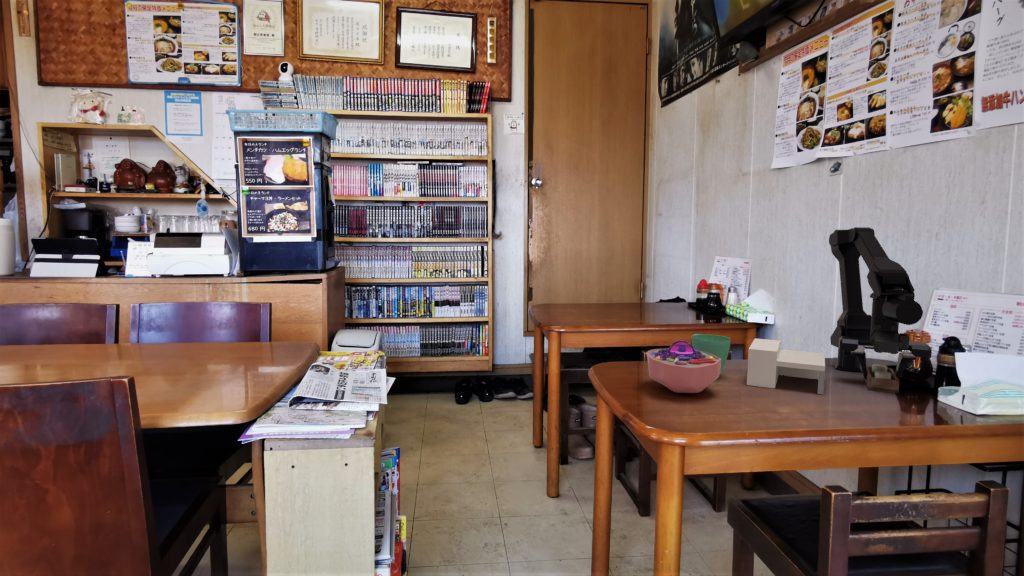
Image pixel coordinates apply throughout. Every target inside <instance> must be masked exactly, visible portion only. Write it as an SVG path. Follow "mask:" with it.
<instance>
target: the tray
mask: <svg viewBox="0 0 1024 576" xmlns="http://www.w3.org/2000/svg"><path fill="white" fill-rule="evenodd" d="M866 368H867V378H866V380H865V379H864V381H865V385H866V388H867V390H868V391H873V392H882V393H890V394H899V389H900V379H899V380H898V378H897V376H896V374H895V373H896V372H895V371H894V369H893V368H890V367H888V366H887V365H884V364H878V363H877V364H876V363H875V364H874V363H873V364H871V366H870V365H869V366H867V365H866Z"/></svg>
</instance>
